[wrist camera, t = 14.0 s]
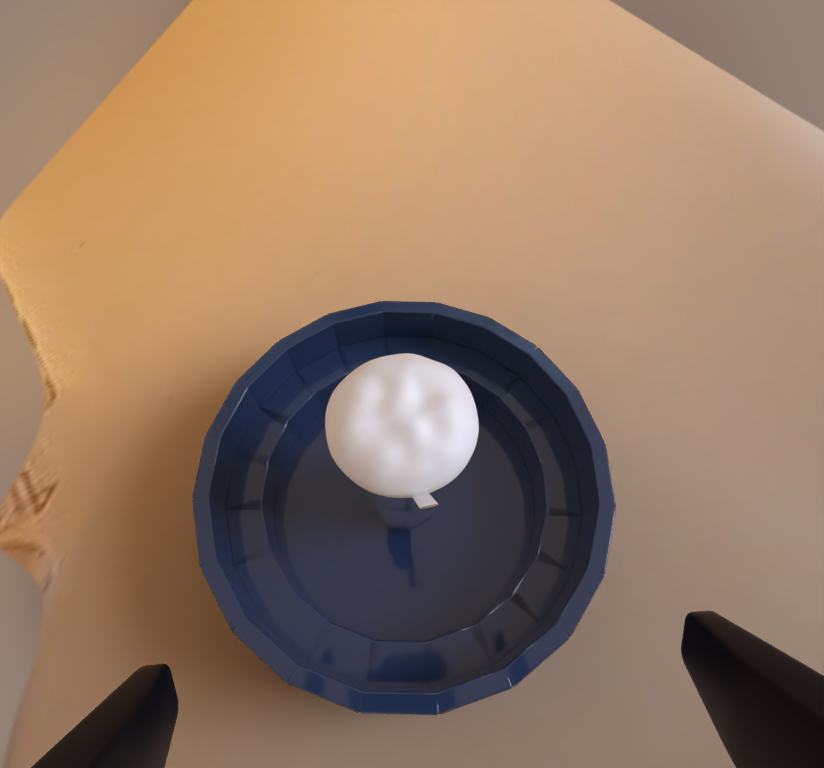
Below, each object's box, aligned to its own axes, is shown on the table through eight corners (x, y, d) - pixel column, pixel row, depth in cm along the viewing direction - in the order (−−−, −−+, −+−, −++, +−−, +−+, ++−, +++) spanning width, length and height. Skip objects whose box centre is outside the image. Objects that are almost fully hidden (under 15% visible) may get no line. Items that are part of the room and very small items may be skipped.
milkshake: (363, 576, 21) (332, 527, 12) (343, 453, 23) (305, 335, 14) (471, 552, 21) (520, 488, 12) (440, 434, 24) (463, 308, 15)
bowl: (350, 798, 18) (334, 844, 14) (175, 459, 23) (128, 421, 19) (649, 543, 22) (703, 522, 18) (440, 305, 28) (447, 248, 24)
